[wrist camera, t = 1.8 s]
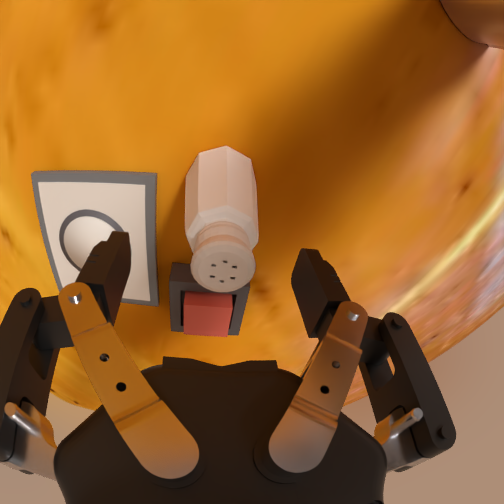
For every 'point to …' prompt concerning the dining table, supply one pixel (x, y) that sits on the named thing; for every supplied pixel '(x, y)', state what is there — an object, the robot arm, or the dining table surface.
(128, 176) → the board
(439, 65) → the dining table surface
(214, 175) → the salt shaker
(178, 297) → the button housing
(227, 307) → the button
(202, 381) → the robot arm
